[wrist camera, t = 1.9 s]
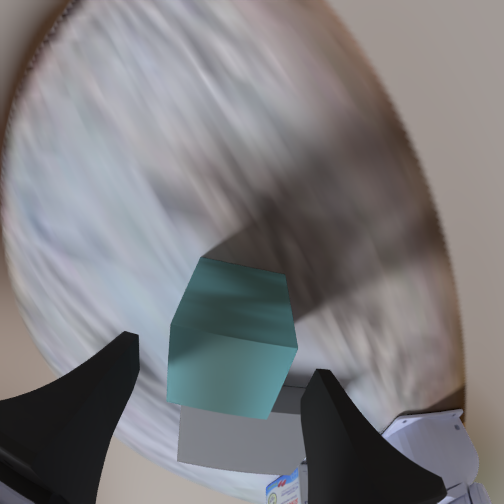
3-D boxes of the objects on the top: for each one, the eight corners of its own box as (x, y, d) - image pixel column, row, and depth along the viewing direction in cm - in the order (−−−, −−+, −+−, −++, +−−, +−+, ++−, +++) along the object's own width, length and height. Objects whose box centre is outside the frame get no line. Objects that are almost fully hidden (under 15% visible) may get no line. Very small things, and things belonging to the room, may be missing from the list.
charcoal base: (330, 390, 19) (336, 416, 16) (288, 454, 22) (290, 475, 20) (189, 369, 18) (181, 396, 16) (181, 439, 22) (177, 461, 19)
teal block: (285, 274, 15) (298, 348, 10) (265, 339, 17) (266, 419, 11) (200, 256, 15) (170, 324, 10) (190, 325, 17) (166, 401, 11)
